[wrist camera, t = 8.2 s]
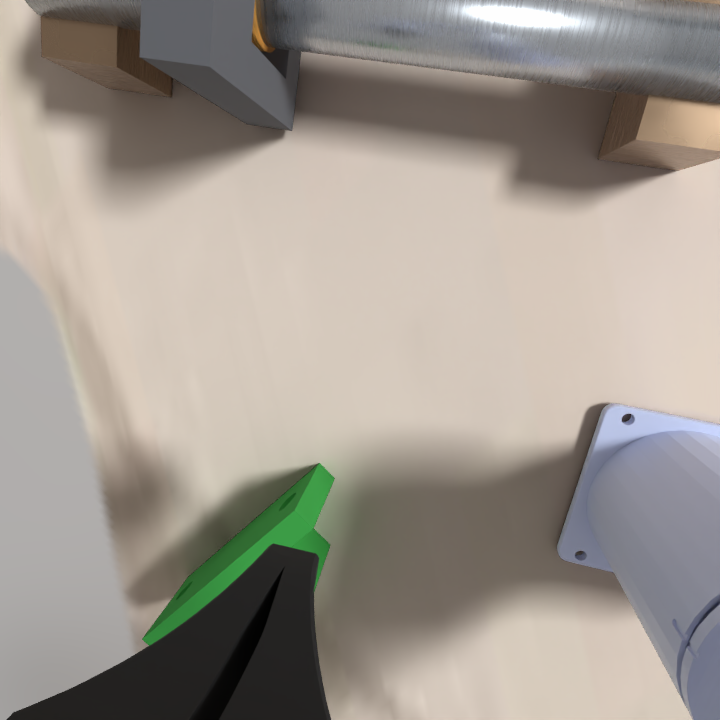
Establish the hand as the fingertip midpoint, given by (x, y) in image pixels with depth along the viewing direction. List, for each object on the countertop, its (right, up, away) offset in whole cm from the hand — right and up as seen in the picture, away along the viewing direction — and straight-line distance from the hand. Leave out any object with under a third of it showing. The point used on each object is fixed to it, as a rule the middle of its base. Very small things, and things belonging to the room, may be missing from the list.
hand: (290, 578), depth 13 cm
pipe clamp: (-3, -4, +13) cm, 14 cm away
